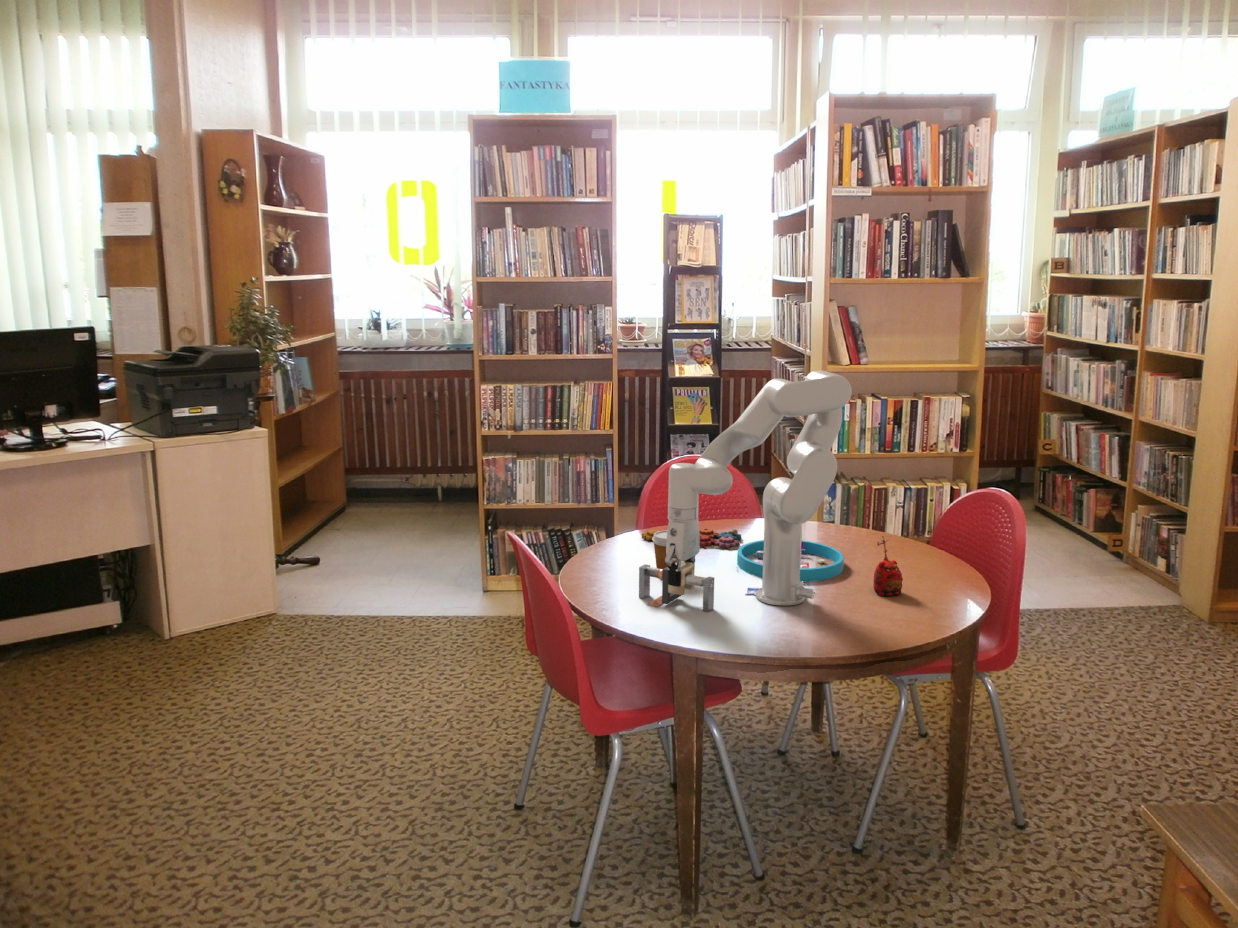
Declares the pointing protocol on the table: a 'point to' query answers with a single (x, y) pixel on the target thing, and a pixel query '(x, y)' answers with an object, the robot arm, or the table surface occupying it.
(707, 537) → the gear puzzle
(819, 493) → the robot arm
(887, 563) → the red clay folk toy
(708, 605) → the grey long flanged piece
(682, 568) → the sleeve
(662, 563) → the disposable coffee cup
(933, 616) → the table surface
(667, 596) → the dark grey u-shaped piece
